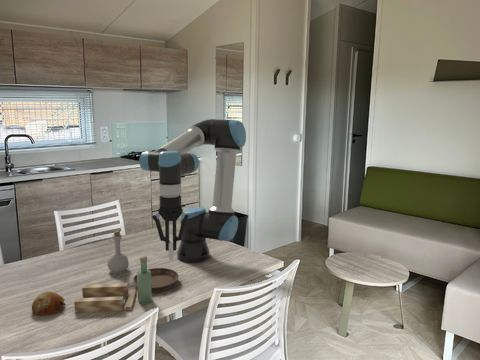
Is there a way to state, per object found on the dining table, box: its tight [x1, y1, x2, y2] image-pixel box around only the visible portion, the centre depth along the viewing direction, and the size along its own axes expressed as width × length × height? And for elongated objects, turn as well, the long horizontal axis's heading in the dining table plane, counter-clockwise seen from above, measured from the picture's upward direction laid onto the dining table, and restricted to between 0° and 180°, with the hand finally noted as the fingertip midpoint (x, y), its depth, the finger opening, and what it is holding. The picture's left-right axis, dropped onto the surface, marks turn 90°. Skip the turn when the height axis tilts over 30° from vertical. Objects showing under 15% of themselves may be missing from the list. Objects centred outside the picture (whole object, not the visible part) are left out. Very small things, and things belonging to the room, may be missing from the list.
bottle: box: [136, 255, 153, 305], centre depth 148 cm, size 5×5×17 cm
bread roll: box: [31, 290, 66, 317], centre depth 143 cm, size 10×10×8 cm
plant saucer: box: [133, 267, 180, 292], centre depth 164 cm, size 18×18×3 cm
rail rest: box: [73, 282, 137, 314], centre depth 148 cm, size 19×13×4 cm
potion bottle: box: [107, 230, 130, 275], centre depth 174 cm, size 9×9×18 cm
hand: (171, 258), depth 148 cm, fingers closed
